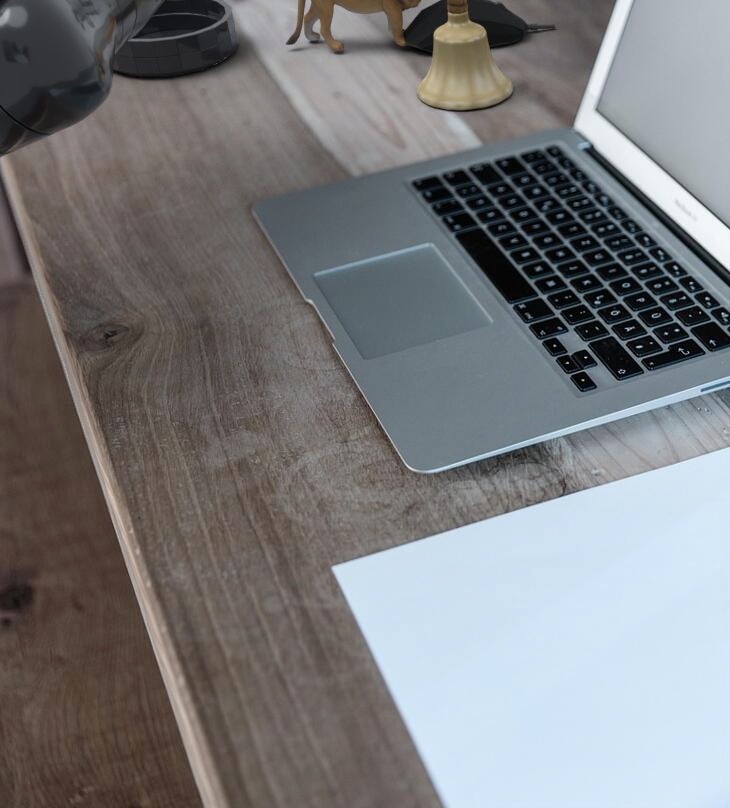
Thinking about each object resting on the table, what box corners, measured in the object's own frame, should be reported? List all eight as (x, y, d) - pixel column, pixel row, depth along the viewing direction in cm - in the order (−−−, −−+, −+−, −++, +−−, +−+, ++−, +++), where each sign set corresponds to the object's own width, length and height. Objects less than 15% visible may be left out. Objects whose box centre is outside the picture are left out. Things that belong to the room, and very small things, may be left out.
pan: (100, 86, 105) (89, 47, 103) (102, 38, 115) (92, 1, 113) (243, 70, 109) (236, 31, 106) (234, 24, 118) (227, -12, 116)
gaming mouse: (565, 39, 115) (564, -3, 112) (412, 60, 110) (407, 17, 108) (544, 17, 119) (543, -24, 117) (396, 37, 115) (392, -5, 113)
